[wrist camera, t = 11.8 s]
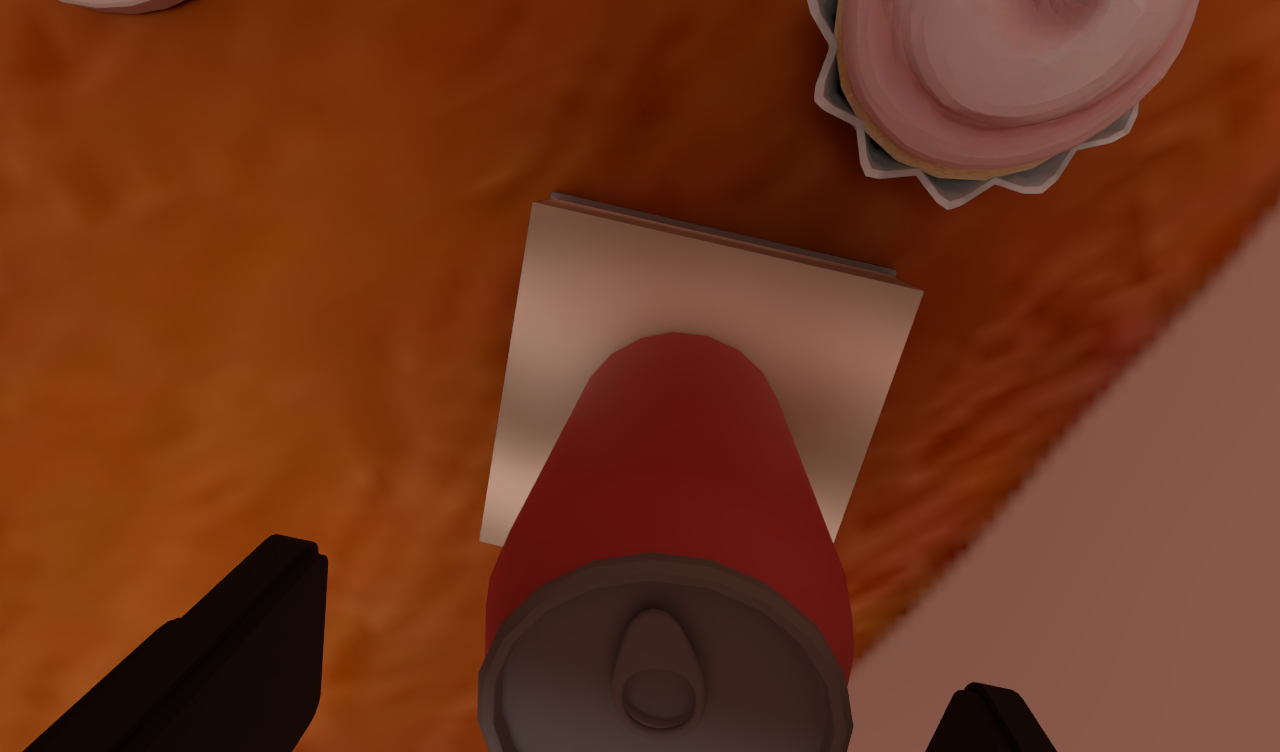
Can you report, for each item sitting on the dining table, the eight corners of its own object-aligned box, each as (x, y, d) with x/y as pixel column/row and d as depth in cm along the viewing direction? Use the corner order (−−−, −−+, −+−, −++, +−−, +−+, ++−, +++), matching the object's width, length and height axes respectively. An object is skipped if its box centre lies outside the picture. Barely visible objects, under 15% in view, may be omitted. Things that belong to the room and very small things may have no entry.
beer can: (781, 323, 19) (907, 528, 8) (779, 513, 21) (879, 900, 10) (570, 330, 20) (406, 532, 9) (587, 515, 22) (471, 881, 10)
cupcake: (737, -25, 20) (778, -207, 11) (1037, -179, 18) (1403, -560, 9) (833, 246, 22) (937, 295, 13) (1108, 132, 21) (1462, 91, 11)
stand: (554, 191, 23) (527, 193, 19) (892, 268, 22) (932, 286, 19) (504, 492, 26) (473, 544, 23) (793, 559, 26) (810, 623, 22)
